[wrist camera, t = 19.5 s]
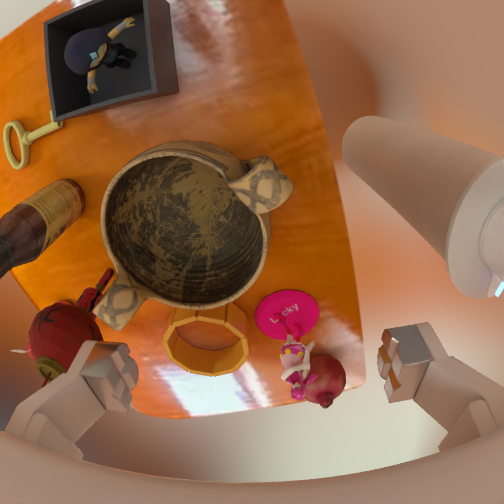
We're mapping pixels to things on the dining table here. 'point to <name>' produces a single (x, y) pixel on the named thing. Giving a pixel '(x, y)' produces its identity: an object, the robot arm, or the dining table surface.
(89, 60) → the character figure
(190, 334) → the dining table surface
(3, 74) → the dining table surface
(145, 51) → the bin
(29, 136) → the key
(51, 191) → the sauce bottle
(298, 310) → the figurine
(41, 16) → the dining table surface
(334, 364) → the fruit
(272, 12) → the dining table surface
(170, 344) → the toy bowl
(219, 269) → the ceramic bowl
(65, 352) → the lantern
